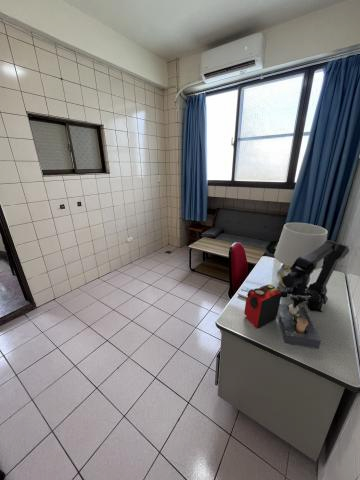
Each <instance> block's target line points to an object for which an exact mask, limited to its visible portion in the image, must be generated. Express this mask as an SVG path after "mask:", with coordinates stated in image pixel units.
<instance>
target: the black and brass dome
mask: <svg viewBox="0 0 360 480" xmlns="http://www.w3.org/2000/svg"><path fill="white" fill-rule="evenodd" d="M298 318H301V317H300V316H299V314H298V313H296V314H295V315H294V316H293V320H294V321H295V322H297V319H298Z"/></svg>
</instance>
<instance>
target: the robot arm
mask: <svg viewBox="0 0 360 480" xmlns="http://www.w3.org/2000/svg"><path fill="white" fill-rule="evenodd" d="M349 252H350V248H349V247H348V245H346V244H343V243H340V242H336V241H333V240H329V239H327V240H326V241H325V243H324V244H323V245H321V246H320V247H319V248H317V249H316V250H314V251H313V252H312V253H310V254H304V255H302V256H300V257H299V258H297V259H296V261H295V262H294V264H293V265H292V267H291V268H290V270H292V271H293V272H292V273H288V275H286V276H284V277H283V279H282V281H283V284H284V285H285V286H286V287H288V288H290V289H292V290H290V289H287V288H286V287H283V286H282V285H278V286H277V287H276V288H278V289H279V291H280V292H281V298H287V297H289V299H290V300H291V304H293V308H295V307H297V306H300V304H302V303H305V305H306V307H307V309H308V311H311V312H319V313H323V310H322V308H323V305H326V303H327V302H328V300H329V298H328V296H327V293H328V288H327V284H328V283H329V280H330V278H331V276H332V274H333V272H334V270H335V269H336V267H337V264H338V262H340V261H341V260H343V259H344V258H345V257H346V256H348V254H349ZM323 258H324V259H325V258H326V260H325V262H324V263H323V266H322V267H321V270H320V273H319V275H318V276H317V279H316V281H315V282H313V283H310V284H308V280H309V277H310V278H311V275H312V273H313V272H314V271H316V270H315V268H316V267H317V263H318V262H319V261H320V260H321V259H323ZM296 266H297V267H298V268H300V269H298V268H296ZM307 284H308V285H307ZM306 298H307V299H306Z"/></svg>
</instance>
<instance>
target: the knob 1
mask: <svg viewBox="0 0 360 480" xmlns="http://www.w3.org/2000/svg"><path fill="white" fill-rule="evenodd" d="M288 305H289V314H294V315H295V314H296V313H297V311H298V310H299V308H298V306H299V305H298V306H297V307H295V308H293V304H292V303H290V304H288Z"/></svg>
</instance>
